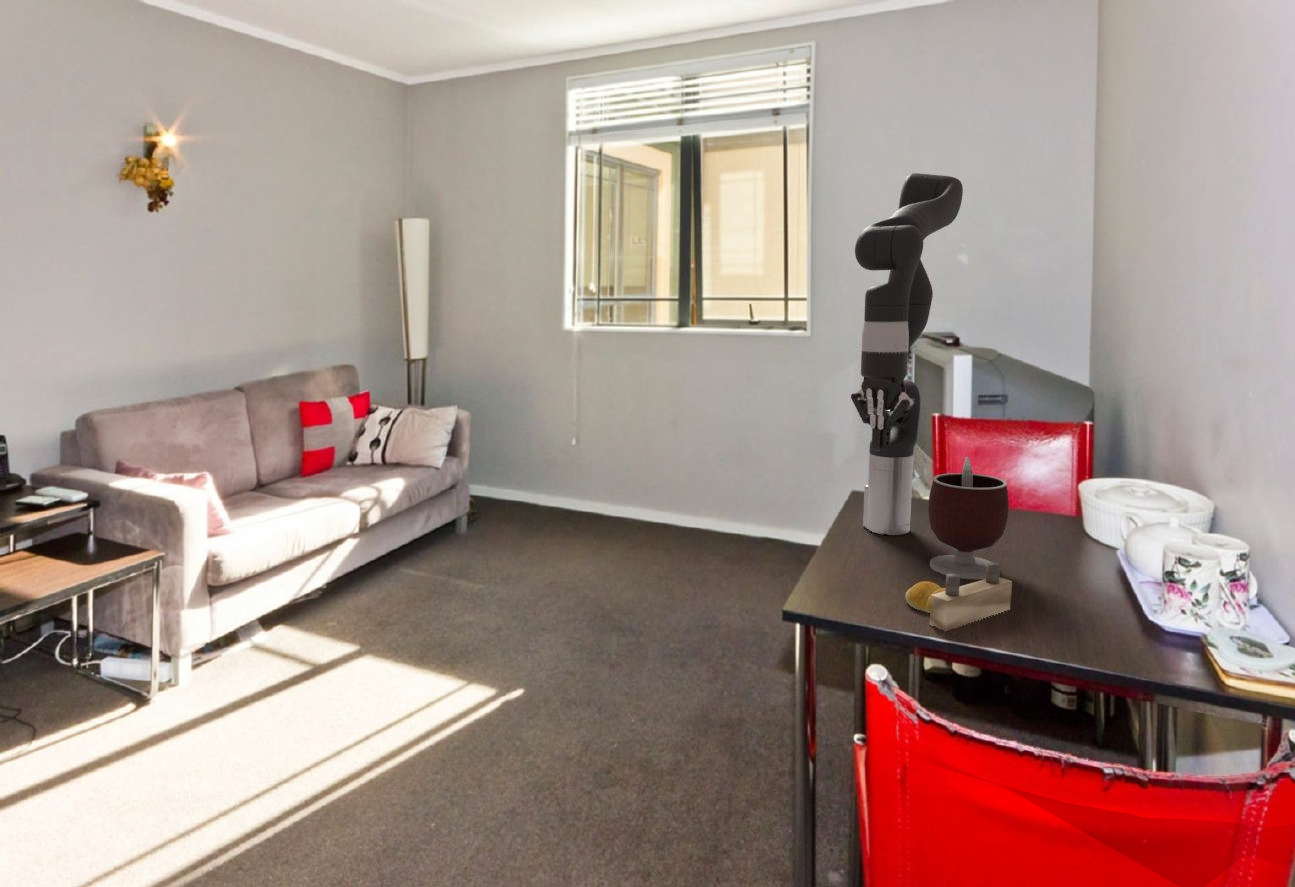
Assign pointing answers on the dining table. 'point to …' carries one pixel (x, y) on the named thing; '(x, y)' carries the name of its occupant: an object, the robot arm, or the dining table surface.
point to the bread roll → (922, 595)
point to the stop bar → (970, 599)
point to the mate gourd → (967, 519)
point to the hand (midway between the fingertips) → (880, 450)
